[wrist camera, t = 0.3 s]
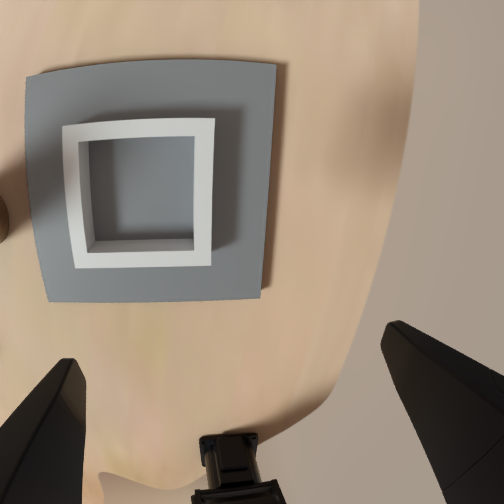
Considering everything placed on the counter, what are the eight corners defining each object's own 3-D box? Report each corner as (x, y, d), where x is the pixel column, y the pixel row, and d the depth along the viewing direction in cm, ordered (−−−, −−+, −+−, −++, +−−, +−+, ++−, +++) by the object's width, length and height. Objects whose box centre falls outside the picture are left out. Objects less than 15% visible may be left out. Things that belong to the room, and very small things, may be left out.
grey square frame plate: (257, 291, 24) (266, 313, 22) (52, 295, 21) (39, 316, 18) (272, 66, 18) (286, 59, 15) (32, 78, 15) (11, 74, 12)
